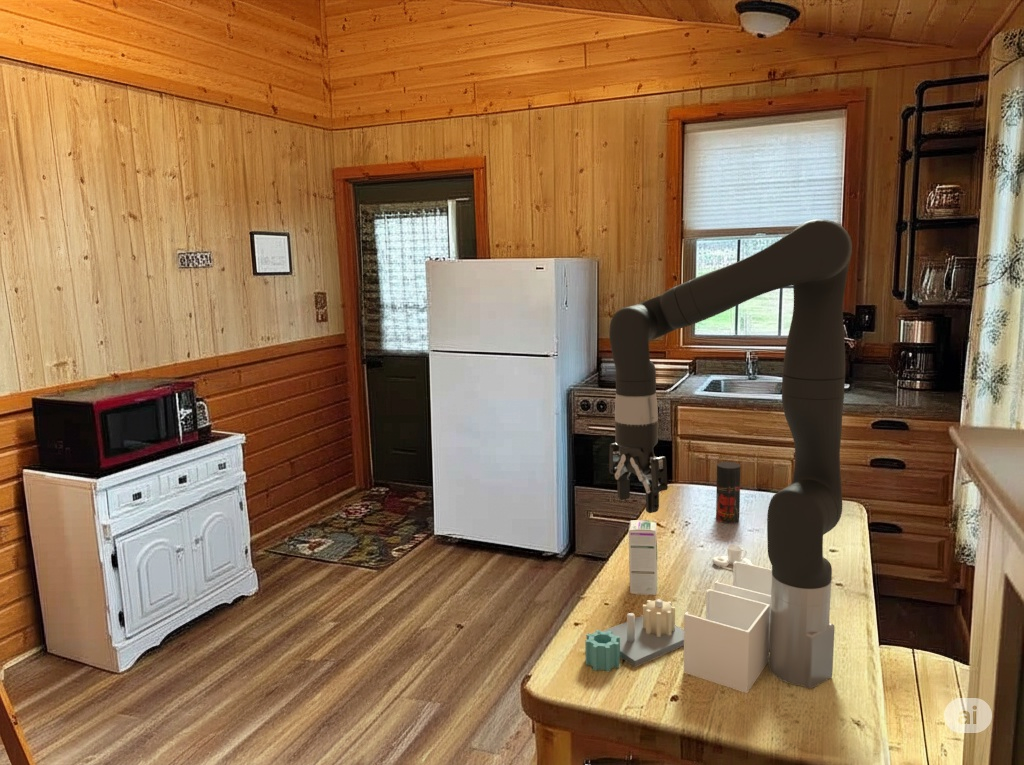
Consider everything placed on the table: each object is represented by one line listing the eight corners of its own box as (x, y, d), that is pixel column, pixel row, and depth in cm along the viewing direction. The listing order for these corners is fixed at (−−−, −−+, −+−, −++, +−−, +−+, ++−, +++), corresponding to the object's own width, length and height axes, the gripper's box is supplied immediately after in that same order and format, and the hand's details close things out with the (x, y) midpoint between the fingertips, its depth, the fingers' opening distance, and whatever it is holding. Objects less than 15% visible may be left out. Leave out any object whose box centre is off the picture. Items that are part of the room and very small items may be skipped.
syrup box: (657, 595, 152) (657, 530, 149) (628, 594, 153) (628, 529, 150) (657, 583, 157) (657, 520, 155) (629, 581, 159) (629, 519, 156)
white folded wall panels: (747, 694, 118) (748, 632, 116) (683, 673, 125) (684, 614, 123) (791, 628, 138) (793, 574, 136) (734, 612, 144) (735, 561, 142)
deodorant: (711, 517, 194) (712, 463, 192) (730, 514, 196) (731, 460, 193) (724, 524, 189) (725, 469, 186) (743, 521, 190) (745, 466, 188)
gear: (626, 664, 127) (626, 640, 127) (600, 675, 124) (600, 651, 124) (604, 649, 132) (604, 626, 132) (579, 659, 129) (578, 636, 128)
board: (693, 641, 134) (693, 607, 133) (635, 667, 126) (634, 631, 125) (651, 617, 143) (651, 585, 142) (594, 640, 136) (594, 606, 134)
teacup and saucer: (711, 569, 164) (711, 552, 163) (713, 555, 171) (714, 539, 171) (752, 574, 161) (752, 557, 160) (752, 559, 169) (753, 543, 168)
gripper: (679, 422, 124) (679, 512, 127) (629, 408, 137) (631, 491, 139) (643, 428, 121) (644, 521, 124) (596, 414, 133) (598, 498, 136)
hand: (637, 505), depth 131 cm, fingers open, 8 cm apart
